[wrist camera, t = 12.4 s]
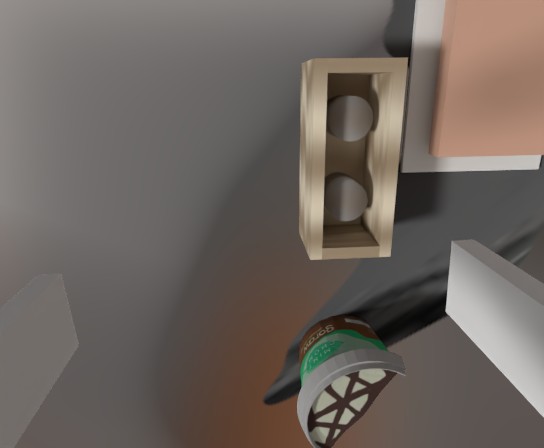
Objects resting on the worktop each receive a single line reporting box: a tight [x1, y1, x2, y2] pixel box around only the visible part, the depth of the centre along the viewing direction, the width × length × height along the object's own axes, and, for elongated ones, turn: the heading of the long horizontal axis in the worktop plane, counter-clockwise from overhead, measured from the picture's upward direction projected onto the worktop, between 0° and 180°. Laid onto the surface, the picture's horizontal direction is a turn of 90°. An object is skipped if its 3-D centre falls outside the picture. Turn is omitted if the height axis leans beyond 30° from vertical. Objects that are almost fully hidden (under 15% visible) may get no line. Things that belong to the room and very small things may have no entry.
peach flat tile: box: [428, 0, 544, 157], centre depth 35 cm, size 18×10×3 cm, turn 1°
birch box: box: [299, 58, 408, 260], centre depth 35 cm, size 16×7×7 cm, turn 1°
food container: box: [297, 315, 406, 448], centre depth 41 cm, size 12×6×10 cm, turn 145°
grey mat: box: [400, 0, 541, 173], centre depth 37 cm, size 22×14×1 cm, turn 1°
